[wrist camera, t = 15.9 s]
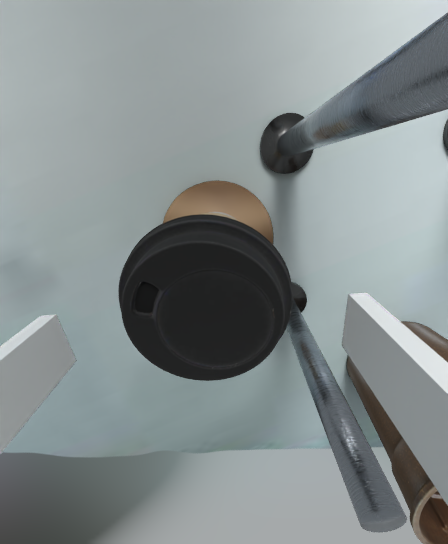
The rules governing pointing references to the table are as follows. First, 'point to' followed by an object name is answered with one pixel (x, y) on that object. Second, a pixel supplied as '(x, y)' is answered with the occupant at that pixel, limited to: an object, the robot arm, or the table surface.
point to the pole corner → (367, 102)
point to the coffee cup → (205, 296)
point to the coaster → (222, 205)
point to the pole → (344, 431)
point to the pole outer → (446, 135)
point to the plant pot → (409, 453)
